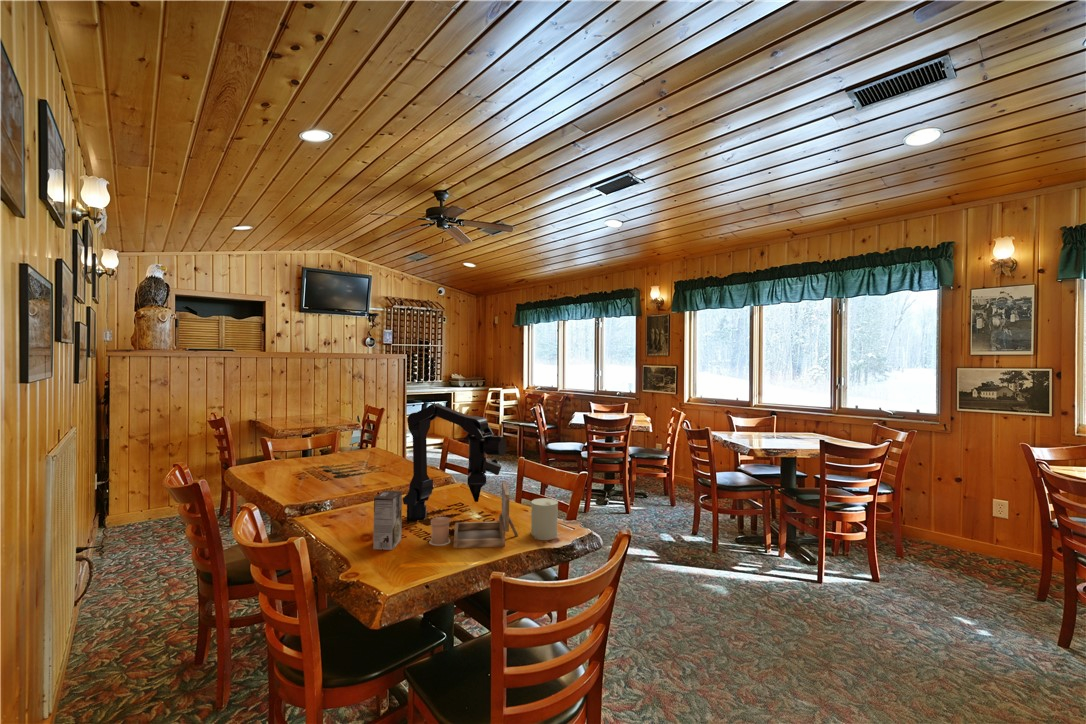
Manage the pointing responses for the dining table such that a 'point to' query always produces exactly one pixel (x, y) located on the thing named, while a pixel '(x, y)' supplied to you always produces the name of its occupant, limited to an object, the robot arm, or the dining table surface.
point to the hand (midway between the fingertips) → (476, 498)
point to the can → (544, 518)
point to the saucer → (439, 544)
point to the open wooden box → (485, 528)
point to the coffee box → (387, 520)
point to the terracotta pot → (440, 530)
